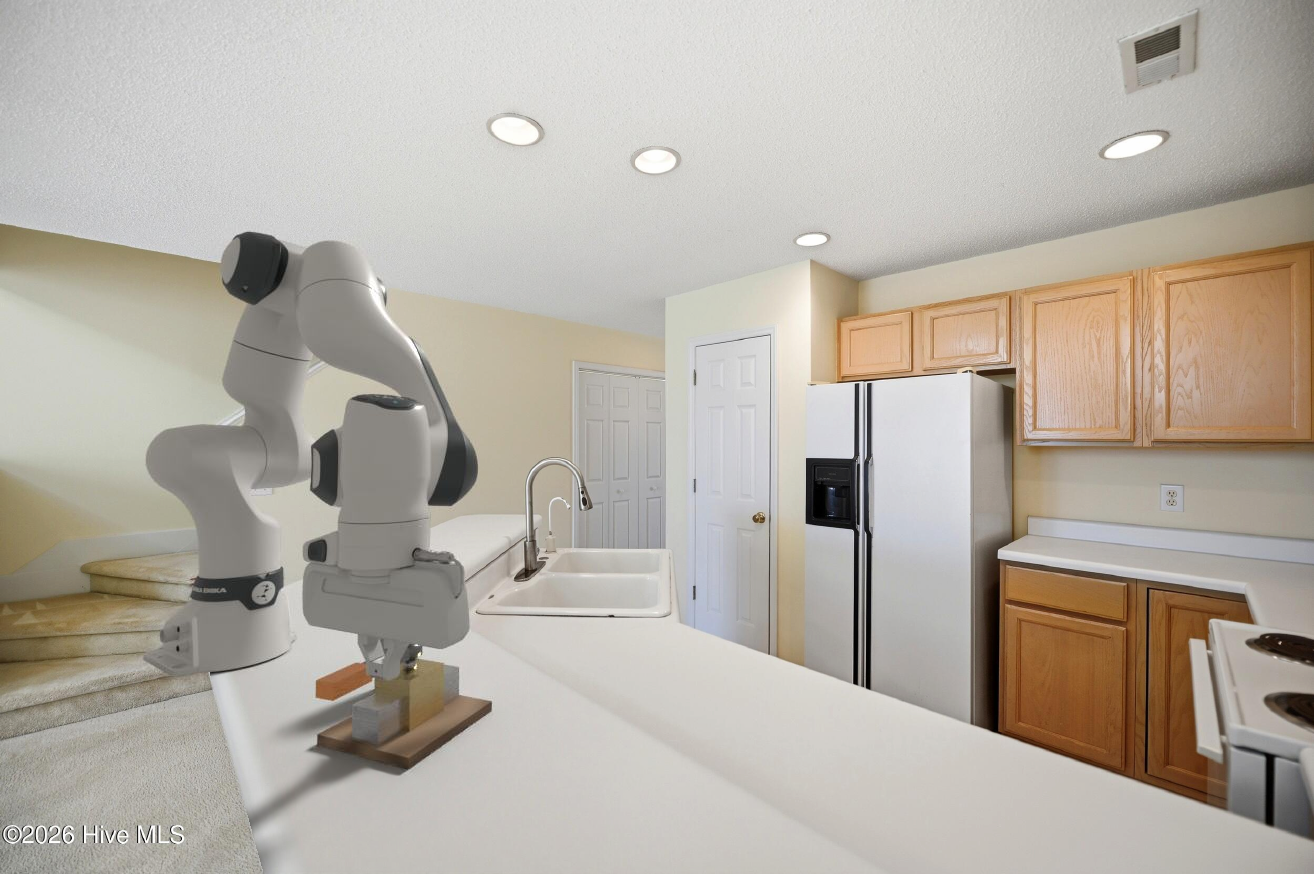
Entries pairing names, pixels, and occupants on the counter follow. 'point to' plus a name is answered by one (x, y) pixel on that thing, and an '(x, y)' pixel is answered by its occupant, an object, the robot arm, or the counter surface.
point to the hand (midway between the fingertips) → (382, 676)
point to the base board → (410, 734)
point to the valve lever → (354, 677)
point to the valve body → (404, 701)
